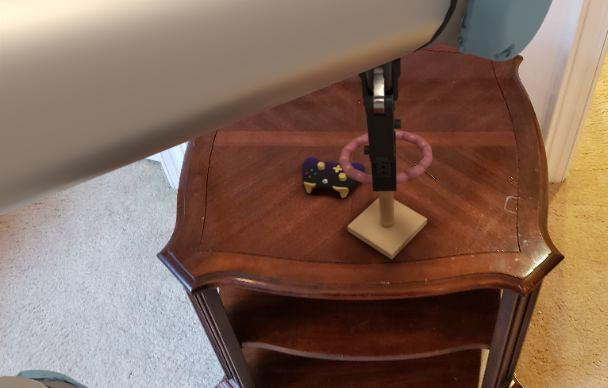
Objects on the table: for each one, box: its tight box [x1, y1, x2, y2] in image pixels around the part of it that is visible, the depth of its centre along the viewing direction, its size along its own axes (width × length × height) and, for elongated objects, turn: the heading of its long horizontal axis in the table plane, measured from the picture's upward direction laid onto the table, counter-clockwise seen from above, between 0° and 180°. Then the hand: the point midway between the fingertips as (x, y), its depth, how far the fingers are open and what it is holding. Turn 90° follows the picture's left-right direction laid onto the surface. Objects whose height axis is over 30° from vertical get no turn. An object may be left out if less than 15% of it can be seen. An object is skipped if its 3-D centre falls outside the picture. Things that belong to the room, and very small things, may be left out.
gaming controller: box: [301, 156, 366, 199], centre depth 84 cm, size 10×5×6 cm
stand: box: [346, 191, 428, 261], centre depth 74 cm, size 8×8×13 cm
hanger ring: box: [338, 129, 434, 186], centre depth 68 cm, size 11×12×1 cm
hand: (384, 181), depth 64 cm, fingers closed on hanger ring, 1 cm apart
